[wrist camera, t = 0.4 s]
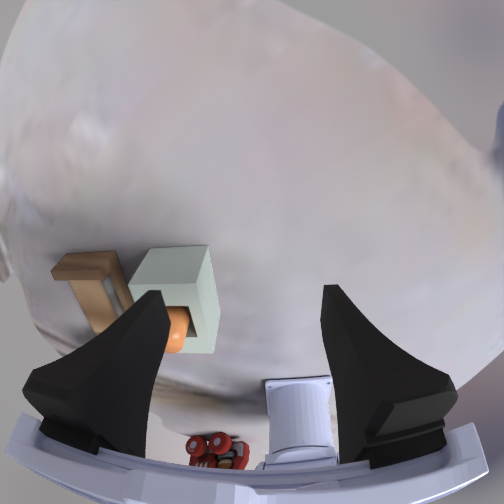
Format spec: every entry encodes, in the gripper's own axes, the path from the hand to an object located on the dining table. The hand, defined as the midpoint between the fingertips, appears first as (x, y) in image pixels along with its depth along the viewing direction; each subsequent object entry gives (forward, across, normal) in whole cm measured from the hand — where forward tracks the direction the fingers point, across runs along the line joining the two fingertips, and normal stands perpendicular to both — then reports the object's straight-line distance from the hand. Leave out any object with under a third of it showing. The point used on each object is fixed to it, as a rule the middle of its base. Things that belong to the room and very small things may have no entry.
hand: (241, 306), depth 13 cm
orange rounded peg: (+6, +6, +6) cm, 10 cm away
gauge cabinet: (+10, +6, +6) cm, 13 cm away
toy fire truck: (+10, +9, +41) cm, 44 cm away
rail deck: (+10, +15, +10) cm, 21 cm away
